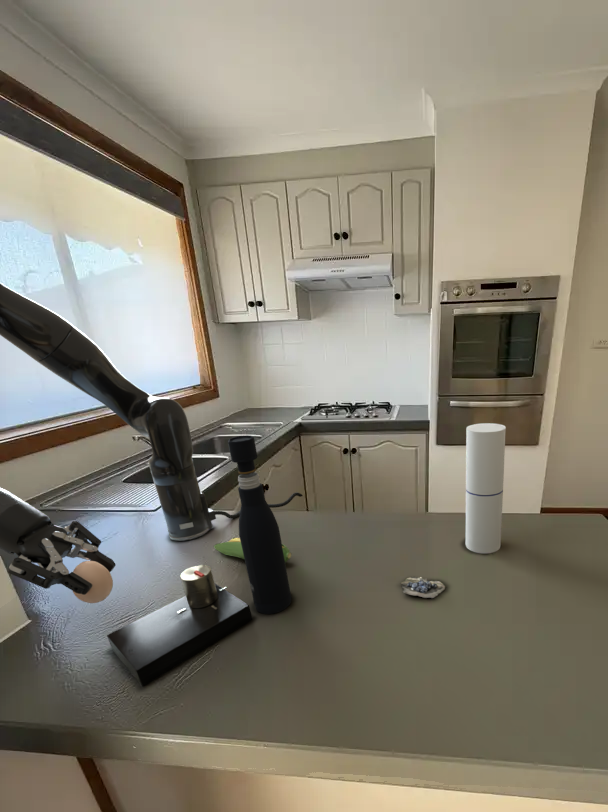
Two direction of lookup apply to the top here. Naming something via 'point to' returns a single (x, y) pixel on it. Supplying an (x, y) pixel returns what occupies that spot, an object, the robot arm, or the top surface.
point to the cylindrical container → (484, 486)
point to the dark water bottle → (259, 533)
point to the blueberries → (422, 587)
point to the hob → (176, 634)
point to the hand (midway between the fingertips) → (100, 578)
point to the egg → (94, 581)
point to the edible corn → (236, 550)
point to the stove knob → (199, 586)
